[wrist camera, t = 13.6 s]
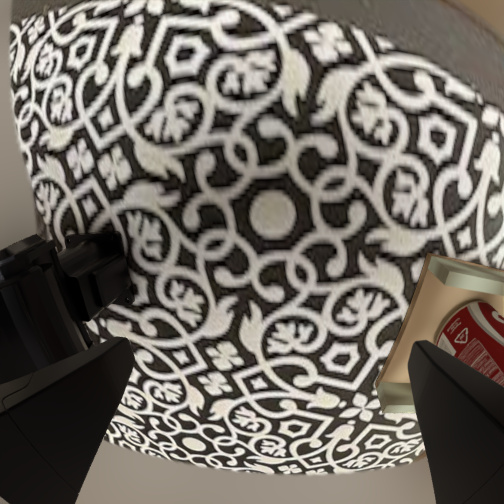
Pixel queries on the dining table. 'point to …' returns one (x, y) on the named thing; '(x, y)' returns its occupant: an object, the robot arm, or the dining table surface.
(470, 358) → the soda can
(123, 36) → the dining table surface
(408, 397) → the dock
